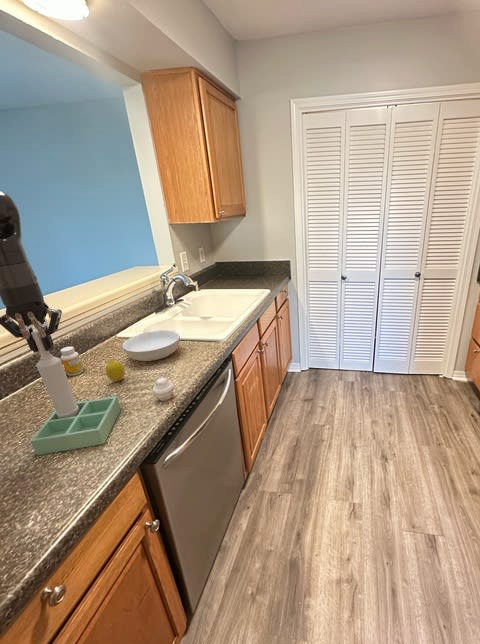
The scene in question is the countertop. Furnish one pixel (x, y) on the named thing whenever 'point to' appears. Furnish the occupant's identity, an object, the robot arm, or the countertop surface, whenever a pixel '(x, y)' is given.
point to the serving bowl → (152, 345)
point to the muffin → (163, 389)
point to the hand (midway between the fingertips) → (43, 350)
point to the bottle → (55, 381)
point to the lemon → (115, 370)
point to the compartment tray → (78, 427)
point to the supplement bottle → (71, 361)
